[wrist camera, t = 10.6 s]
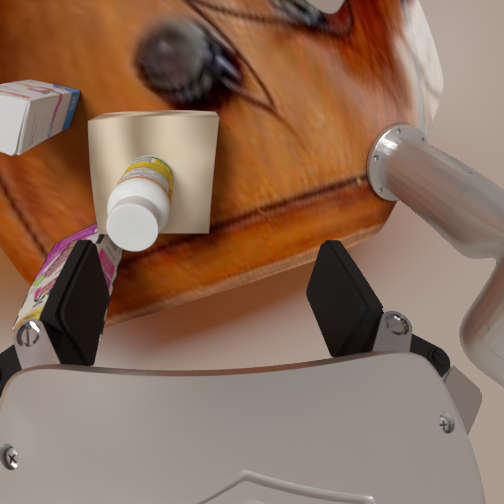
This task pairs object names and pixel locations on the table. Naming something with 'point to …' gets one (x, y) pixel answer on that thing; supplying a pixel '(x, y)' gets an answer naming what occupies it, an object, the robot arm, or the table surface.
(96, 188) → the base block
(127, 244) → the supplement bottle
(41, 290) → the candy bar box
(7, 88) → the ink box
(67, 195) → the table surface
